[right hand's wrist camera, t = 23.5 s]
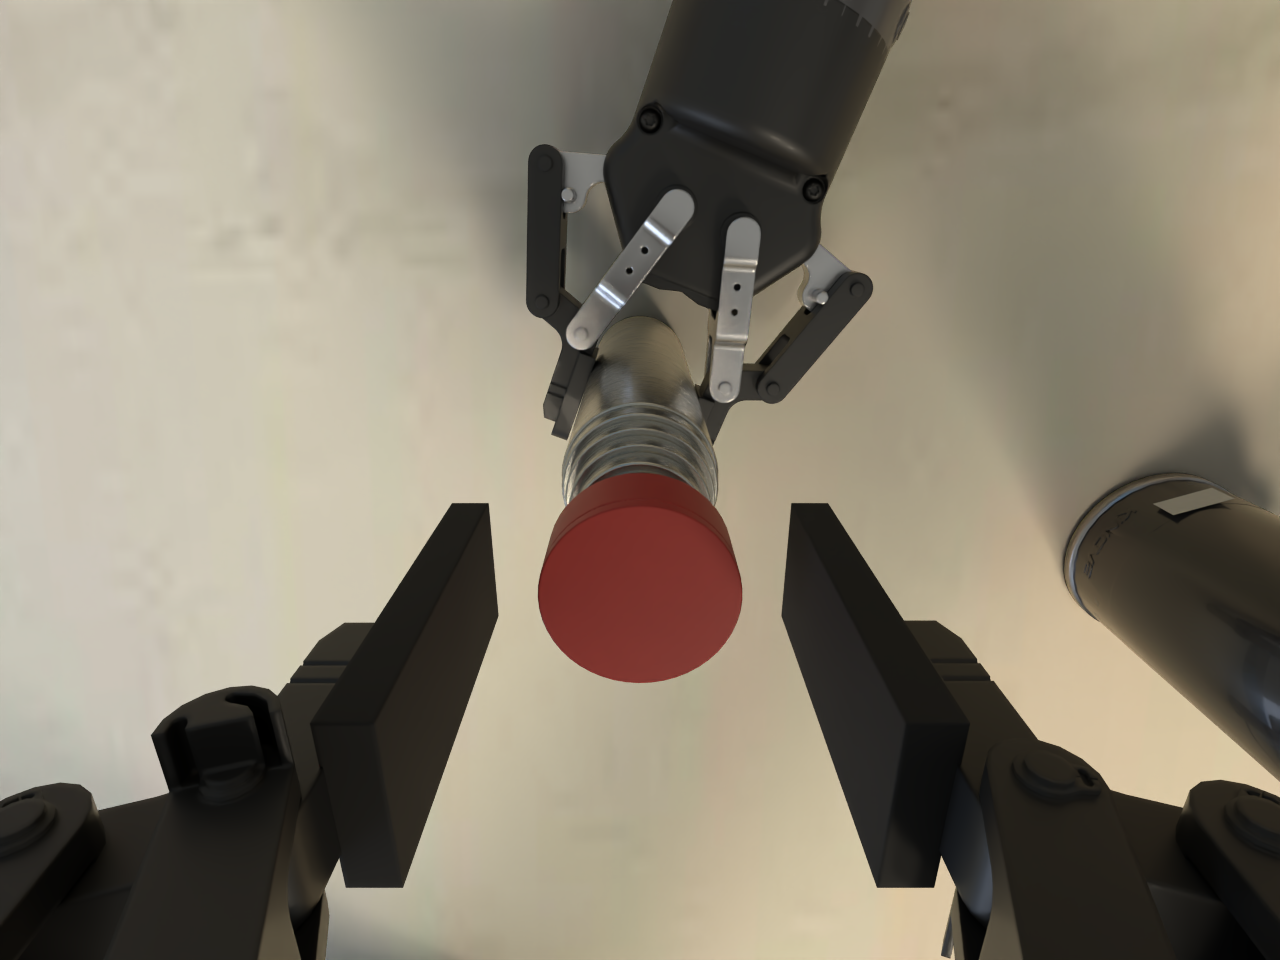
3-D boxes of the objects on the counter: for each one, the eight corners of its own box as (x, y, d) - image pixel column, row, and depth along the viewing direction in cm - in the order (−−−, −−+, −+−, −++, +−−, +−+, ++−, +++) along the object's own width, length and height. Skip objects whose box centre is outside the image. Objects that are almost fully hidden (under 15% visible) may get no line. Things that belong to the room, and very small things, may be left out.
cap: (725, 634, 15) (735, 684, 14) (552, 632, 15) (541, 682, 14) (736, 472, 14) (750, 507, 12) (545, 469, 14) (533, 504, 12)
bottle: (686, 317, 34) (759, 483, 13) (681, 403, 35) (739, 673, 15) (597, 314, 34) (528, 475, 13) (595, 400, 35) (533, 667, 15)
